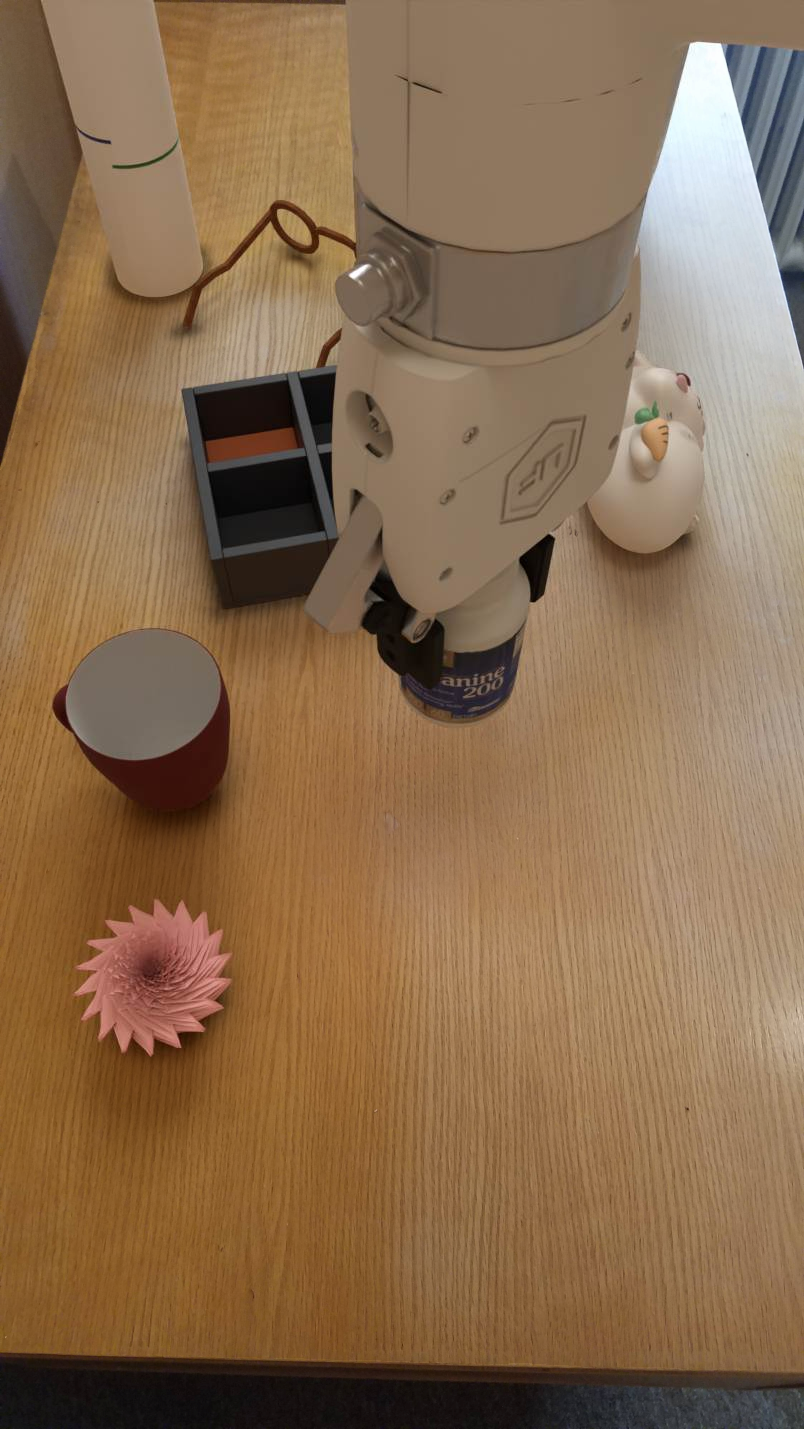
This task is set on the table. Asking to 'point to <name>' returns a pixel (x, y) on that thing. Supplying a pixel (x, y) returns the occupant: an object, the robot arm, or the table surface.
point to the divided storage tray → (265, 481)
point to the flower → (155, 977)
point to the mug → (151, 716)
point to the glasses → (306, 249)
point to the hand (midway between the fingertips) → (461, 619)
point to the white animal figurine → (654, 463)
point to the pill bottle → (476, 654)
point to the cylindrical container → (129, 139)
